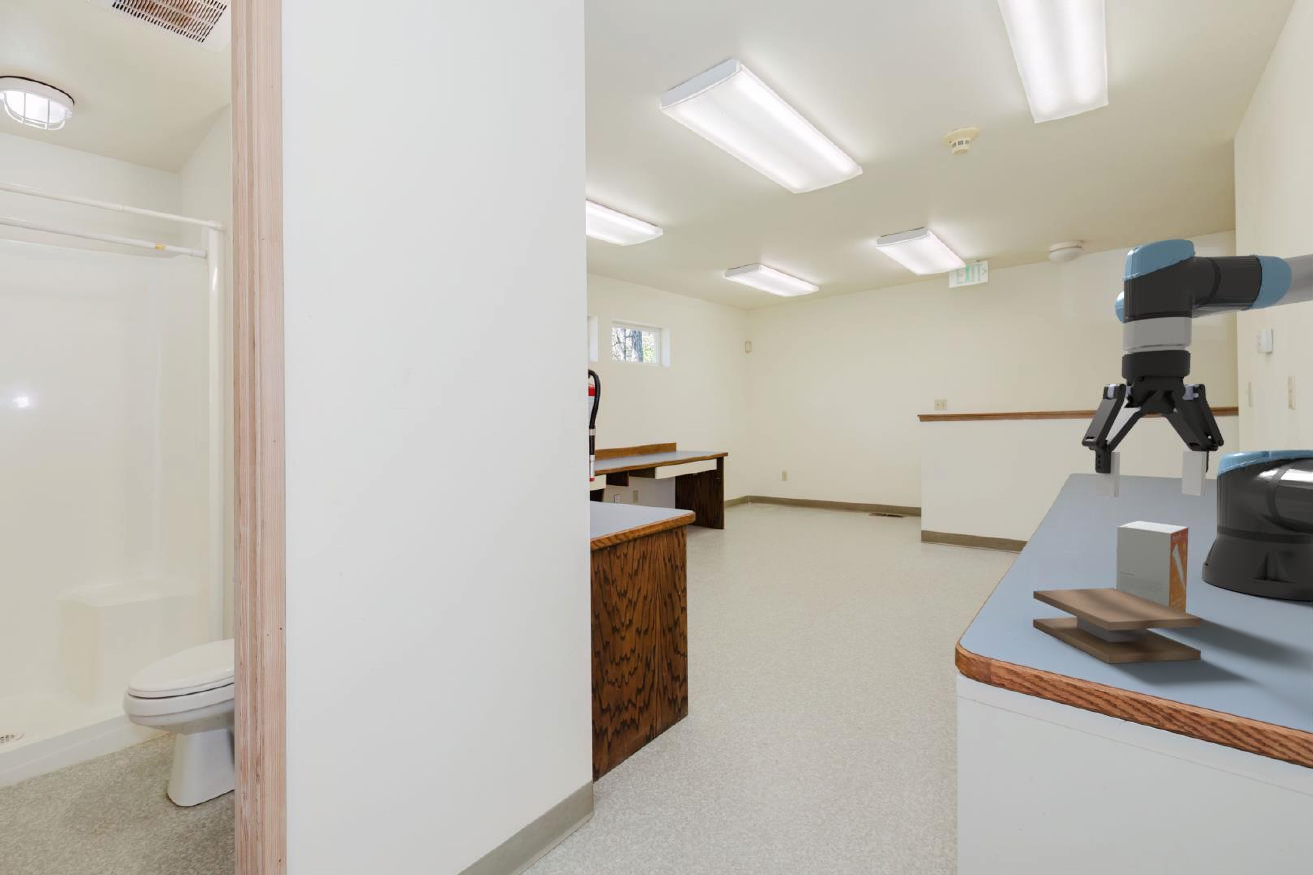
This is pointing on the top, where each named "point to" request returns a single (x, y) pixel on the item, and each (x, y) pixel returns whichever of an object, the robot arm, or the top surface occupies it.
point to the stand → (1116, 625)
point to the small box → (1153, 562)
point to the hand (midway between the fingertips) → (1150, 495)
